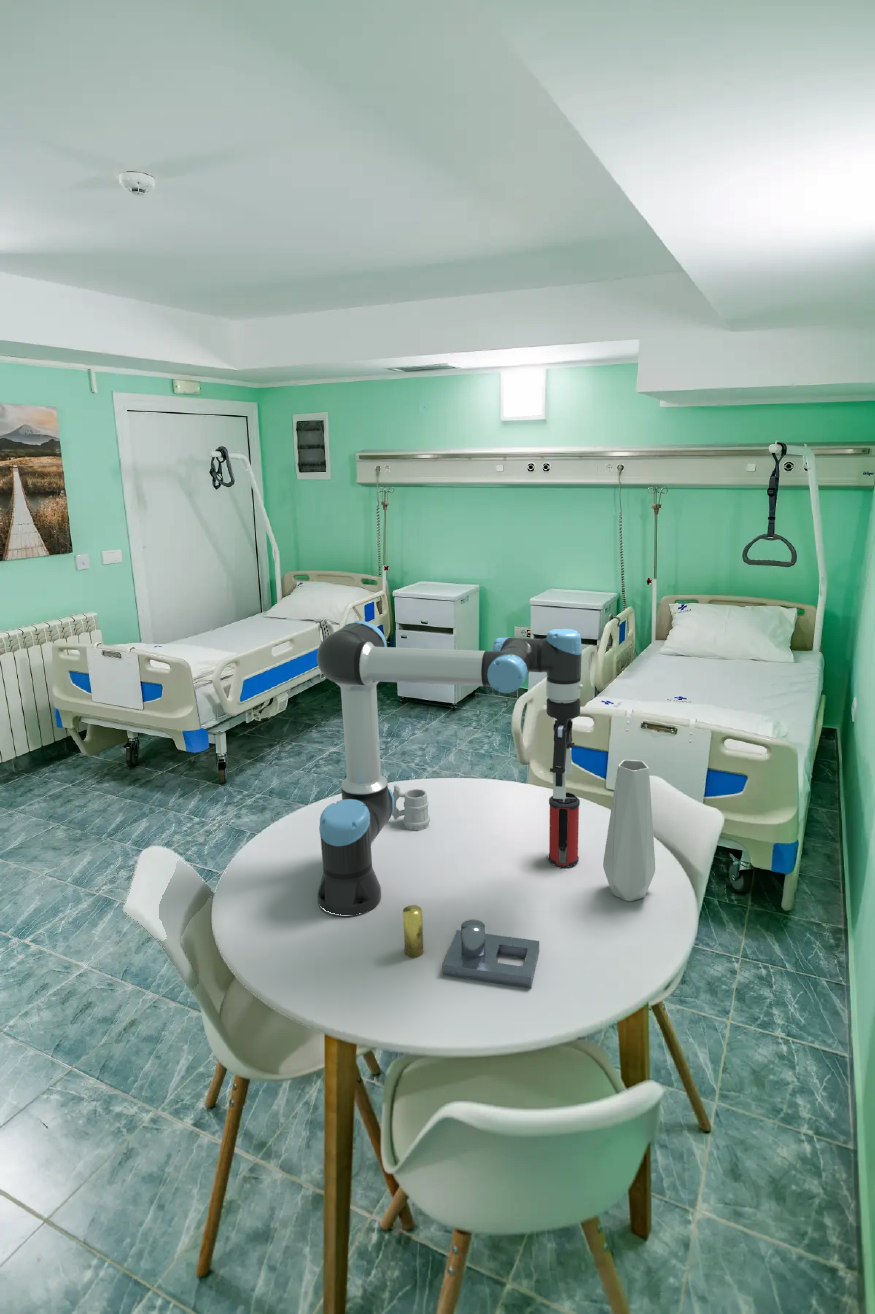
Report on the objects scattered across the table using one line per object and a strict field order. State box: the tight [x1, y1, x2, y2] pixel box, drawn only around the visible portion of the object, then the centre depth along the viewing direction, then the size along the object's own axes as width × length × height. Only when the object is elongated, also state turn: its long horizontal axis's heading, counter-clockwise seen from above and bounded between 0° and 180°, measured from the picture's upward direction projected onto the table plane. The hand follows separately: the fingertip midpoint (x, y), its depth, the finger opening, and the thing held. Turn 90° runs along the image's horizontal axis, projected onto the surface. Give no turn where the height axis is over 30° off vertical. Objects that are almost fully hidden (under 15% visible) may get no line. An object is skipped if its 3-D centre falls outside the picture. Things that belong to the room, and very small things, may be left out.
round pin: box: [402, 904, 425, 959], centre depth 160 cm, size 4×4×10 cm
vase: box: [602, 759, 656, 902], centre depth 177 cm, size 12×12×33 cm
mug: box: [391, 783, 431, 831], centre depth 217 cm, size 8×12×12 cm, turn 75°
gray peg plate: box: [442, 919, 540, 989], centre depth 156 cm, size 18×12×8 cm, turn 75°
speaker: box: [548, 791, 581, 868], centre depth 194 cm, size 8×8×18 cm
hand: (562, 785), depth 175 cm, fingers open, 13 cm apart
